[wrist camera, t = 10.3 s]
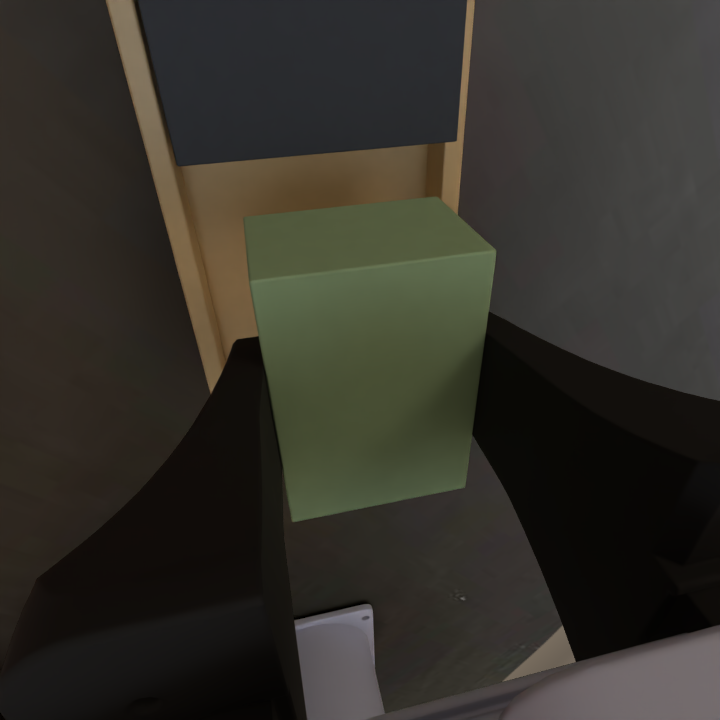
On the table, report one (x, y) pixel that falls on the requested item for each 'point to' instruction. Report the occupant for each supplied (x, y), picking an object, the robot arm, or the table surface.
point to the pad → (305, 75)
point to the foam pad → (370, 348)
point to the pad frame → (261, 193)
